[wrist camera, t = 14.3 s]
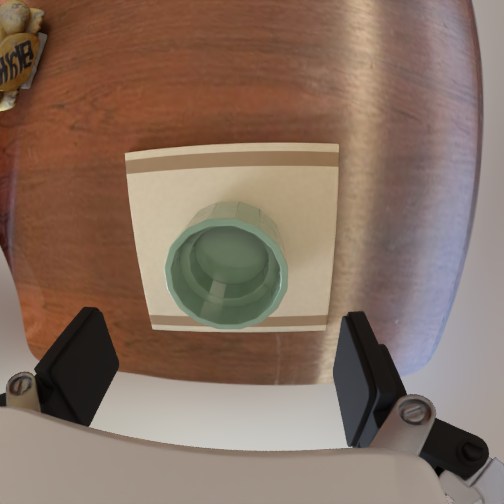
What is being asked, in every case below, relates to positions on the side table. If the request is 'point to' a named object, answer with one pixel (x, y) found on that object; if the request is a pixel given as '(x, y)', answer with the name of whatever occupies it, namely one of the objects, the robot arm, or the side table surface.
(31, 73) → the decorative figurine
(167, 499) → the robot arm
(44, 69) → the side table surface
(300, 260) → the cloth
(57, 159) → the side table surface
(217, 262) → the bowl
